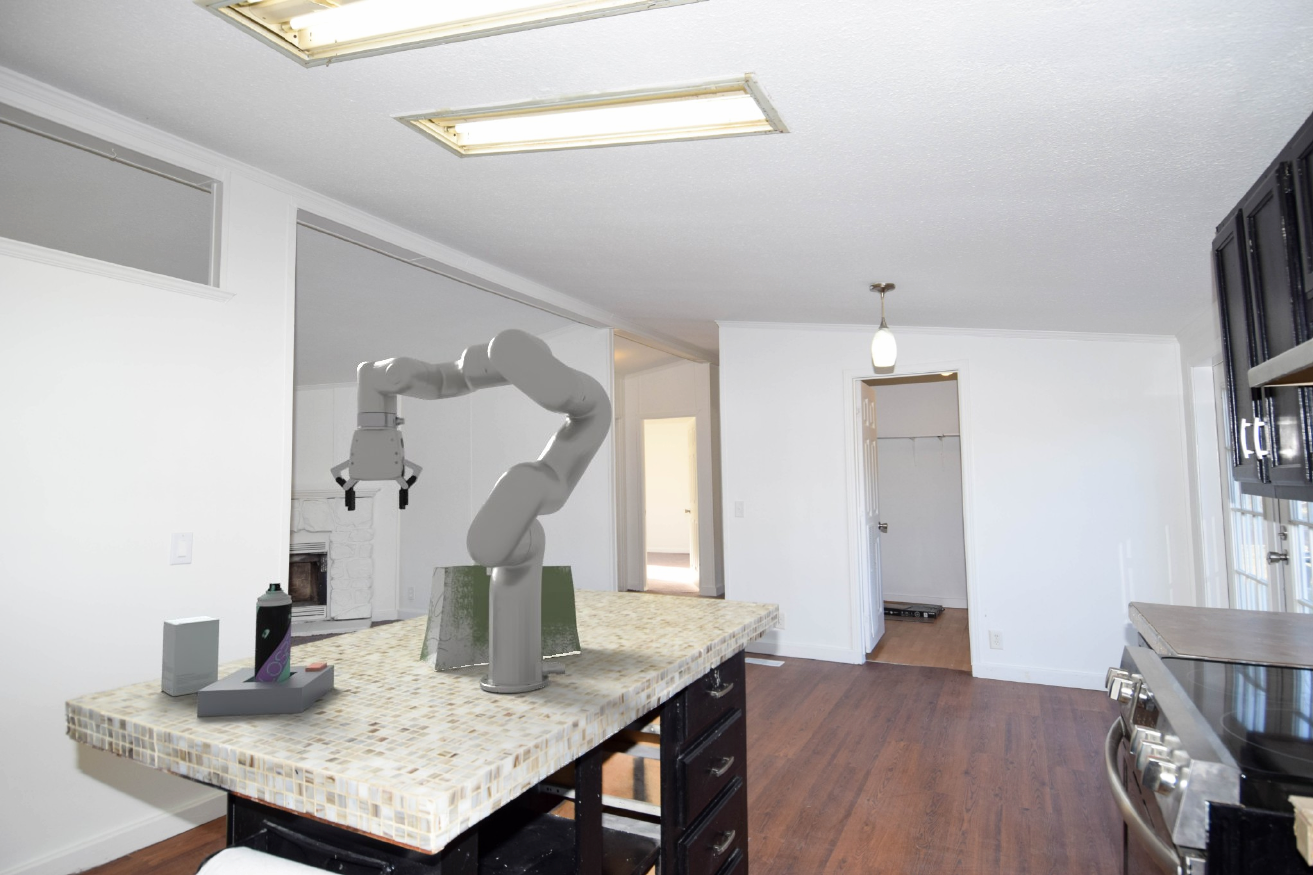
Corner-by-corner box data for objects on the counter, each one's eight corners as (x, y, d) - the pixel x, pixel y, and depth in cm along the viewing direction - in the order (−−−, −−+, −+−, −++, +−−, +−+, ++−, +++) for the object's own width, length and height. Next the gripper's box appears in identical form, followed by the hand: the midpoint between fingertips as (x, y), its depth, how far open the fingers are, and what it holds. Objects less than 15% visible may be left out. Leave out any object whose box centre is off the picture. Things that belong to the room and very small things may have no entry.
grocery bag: (559, 643, 175) (559, 544, 177) (582, 654, 163) (582, 547, 165) (418, 659, 160) (420, 550, 162) (432, 673, 148) (434, 554, 149)
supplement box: (218, 689, 137) (220, 618, 138) (171, 697, 131) (174, 624, 132) (205, 682, 142) (207, 614, 143) (159, 690, 136) (162, 619, 137)
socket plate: (333, 687, 137) (334, 661, 138) (301, 712, 121) (302, 683, 122) (242, 690, 136) (242, 664, 136) (197, 716, 120) (198, 687, 120)
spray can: (258, 707, 125) (261, 585, 126) (249, 700, 129) (253, 583, 130) (293, 700, 128) (296, 582, 130) (284, 694, 132) (287, 580, 134)
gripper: (425, 425, 154) (425, 508, 153) (336, 426, 152) (336, 511, 150) (419, 421, 147) (419, 509, 146) (326, 422, 144) (325, 511, 143)
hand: (377, 510), depth 148 cm, fingers open, 9 cm apart
